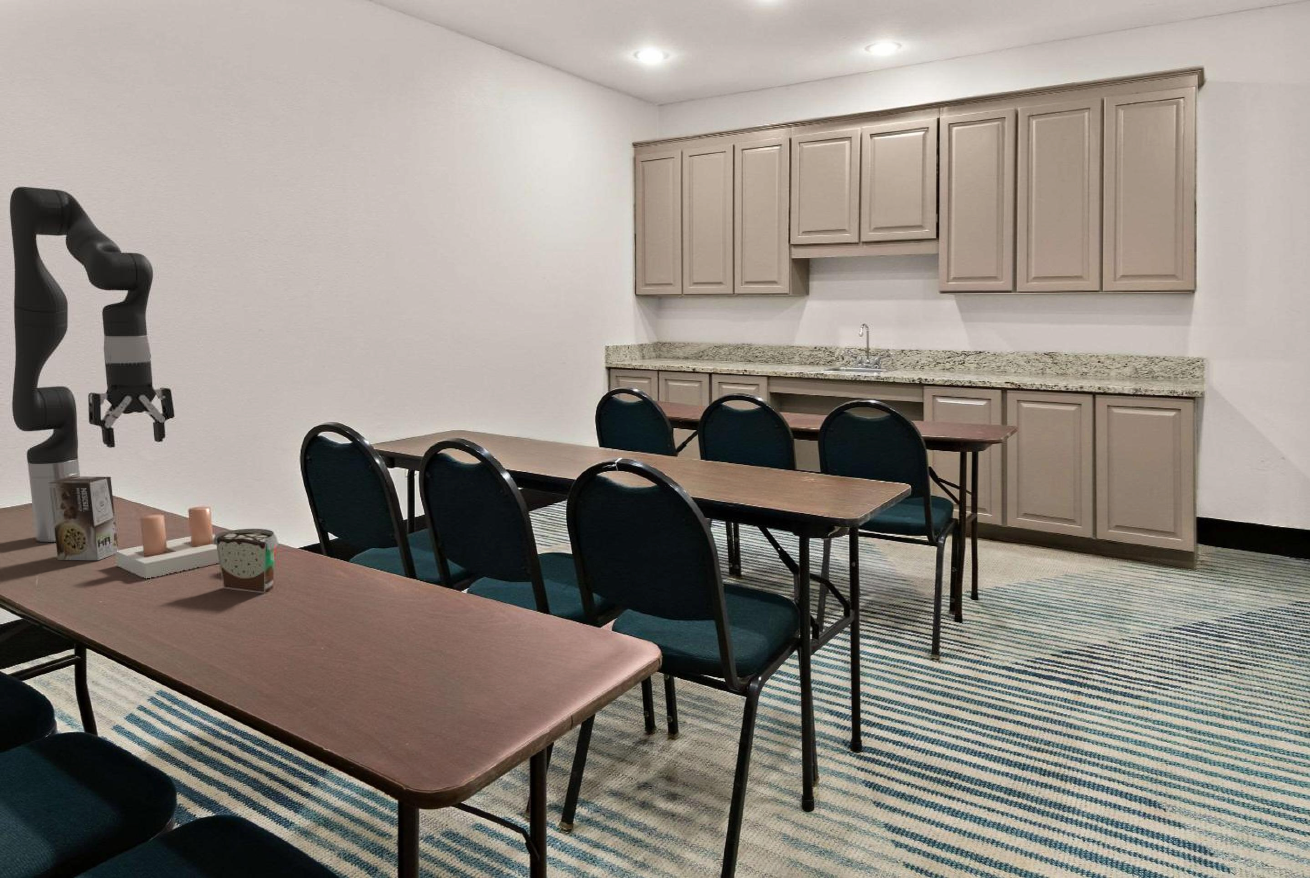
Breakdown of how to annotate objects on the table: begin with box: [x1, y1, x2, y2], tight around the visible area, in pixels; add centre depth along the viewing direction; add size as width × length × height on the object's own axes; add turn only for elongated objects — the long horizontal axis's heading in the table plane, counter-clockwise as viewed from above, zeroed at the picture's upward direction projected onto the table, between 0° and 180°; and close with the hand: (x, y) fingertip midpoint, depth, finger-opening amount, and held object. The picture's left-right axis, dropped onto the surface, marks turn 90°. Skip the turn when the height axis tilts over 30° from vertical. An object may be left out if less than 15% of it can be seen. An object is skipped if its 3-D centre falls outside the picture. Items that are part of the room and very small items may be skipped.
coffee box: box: [49, 476, 119, 561], centre depth 180 cm, size 9×6×16 cm
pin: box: [140, 514, 167, 558], centre depth 173 cm, size 4×4×10 cm
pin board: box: [115, 506, 219, 580], centre depth 177 cm, size 14×18×10 cm
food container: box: [214, 528, 279, 594], centre depth 161 cm, size 12×6×10 cm, turn 71°
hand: (135, 444), depth 171 cm, fingers open, 8 cm apart
